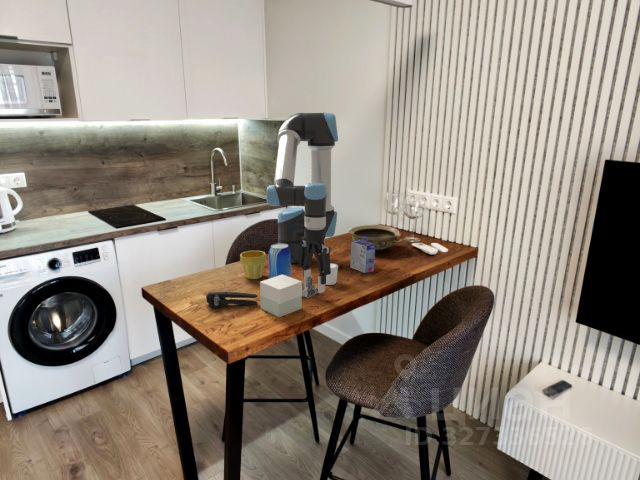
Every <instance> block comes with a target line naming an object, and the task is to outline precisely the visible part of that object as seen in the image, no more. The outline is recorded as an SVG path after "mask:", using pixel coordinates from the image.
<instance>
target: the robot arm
mask: <svg viewBox="0 0 640 480" xmlns="http://www.w3.org/2000/svg"><path fill="white" fill-rule="evenodd" d="M276 139H277V143H278V147H277V156H276V164H275V172H274V179H273V184H272V185H271V184H270V185H268V186H267V188H266V193H265V194H266V195H265V196H266V202H267V205H268V206H271V207H273V206H274V207H291V208H285V209H283V210H281V211H279V212H278V214H277V231H278V232H277V234H278V236H277V238H278V243H277V244H279V243H282V244H287V245H288V248H289V249H290V251H291V264H298V267H299V268H301V269H302V274H303V275H302V276H303V286H304V287H305V286H307V279H308V277H311V278H312V269H311V263H312V260H313V256H314V257H315V258H316V263H317V267H318V271H319V275H317V289H318V293H317V294H321V293H324V292H325V291H326V275H329V274H331V267H330V263H331V249H332V248H331V247H330V246H326V245H325V239H326V238H332V237H333V236H334V235H335V232H336V228H337V227H336V226H337V221H338V220H337V219H338V212H337V211H335V207H334V206H333V205H332V149H334V147H335V146H336V143H337V142H339V136H338V127H337V117H336V115H335V114H334V113H331V112H297V113H294V114H292V115H290V116H289V117H288V118H287V119H285V120H284V121H283V123H281V126H280V127H279V130H278V133H277V138H276ZM301 142H307V146H308V148H309V149H310V151H311V152H310V155H311V156H310V157H311V160H310V161H311V163H310V164H311V168H310V169H311V174H310V176H311V177H310V178H311V182H310V183H306V184H305V185H295V174H296V165H297V155H298V153H297V152H298V146H299V145H300V143H301ZM303 207H304V208H303Z"/></svg>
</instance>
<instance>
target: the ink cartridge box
mask: <svg viewBox="0 0 640 480" xmlns="http://www.w3.org/2000/svg"><path fill="white" fill-rule="evenodd" d="M363 238H366V239H367V240H363ZM368 238H369V237H366V236H363V237H362V239H361V240H355V241H353V240H352V241H351V245H350V267H349V268H351V269H353V270H356V271H358V272H361V273H364V274H369V273H372V272H374V271H375V258H376V257H375V255H376V254H375V253H376V252H375V244H373V243H370V242H367V241H368Z"/></svg>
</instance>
